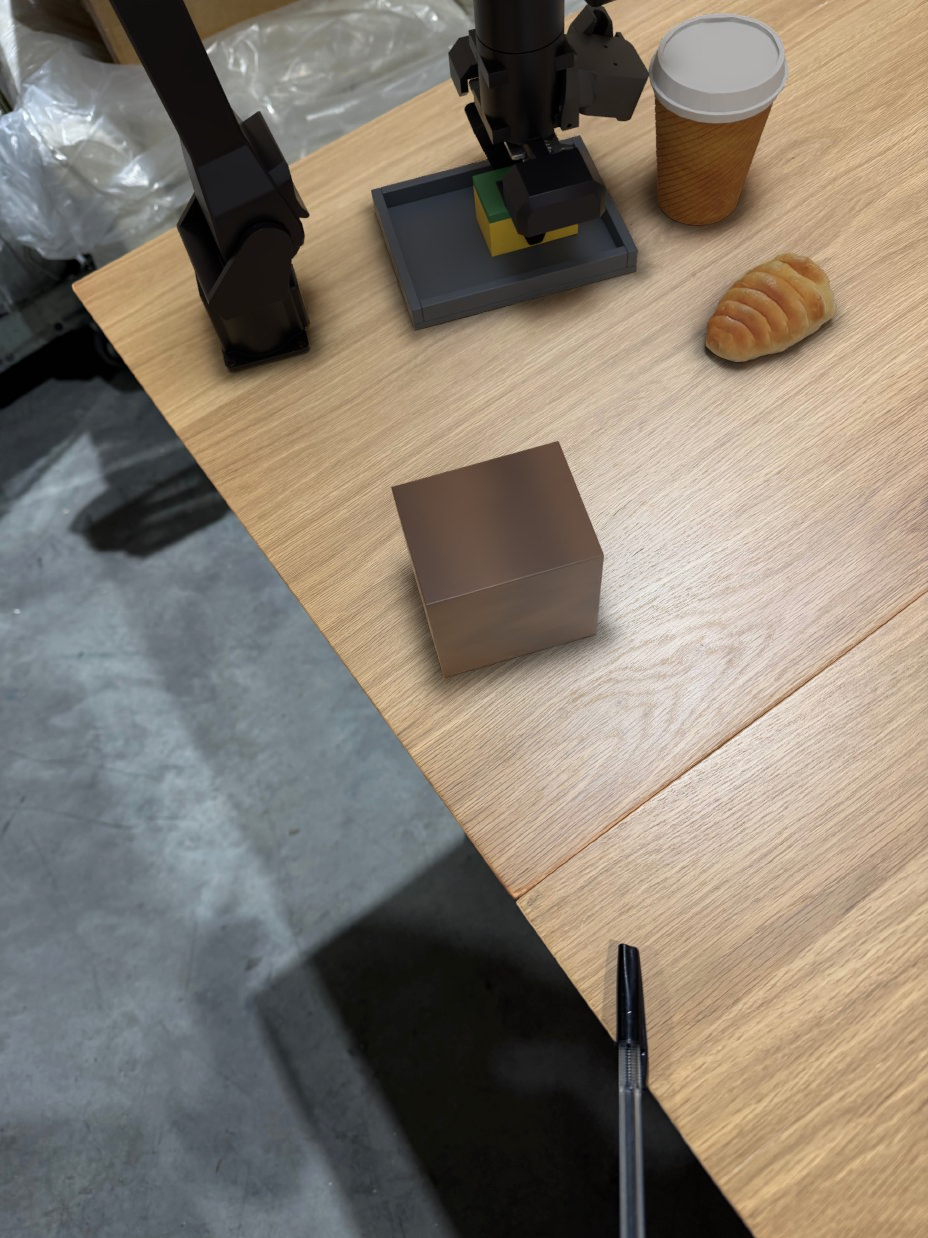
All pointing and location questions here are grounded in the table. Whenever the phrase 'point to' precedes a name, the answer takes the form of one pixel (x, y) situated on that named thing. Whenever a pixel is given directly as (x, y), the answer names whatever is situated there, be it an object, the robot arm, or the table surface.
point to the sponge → (502, 217)
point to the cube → (502, 557)
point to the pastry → (771, 309)
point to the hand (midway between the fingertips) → (526, 222)
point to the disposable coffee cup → (712, 110)
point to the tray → (485, 249)
